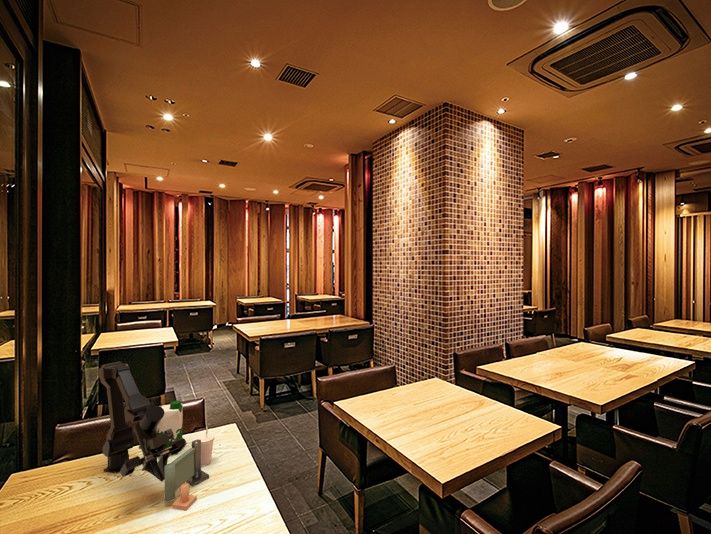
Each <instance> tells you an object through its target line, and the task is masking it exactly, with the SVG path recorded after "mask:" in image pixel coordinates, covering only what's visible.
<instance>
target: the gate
mask: <svg viewBox="0 0 711 534" xmlns="http://www.w3.org/2000/svg"><path fill="white" fill-rule="evenodd" d="M194 453H195V448H192V447H190V448H188V449H187V450H185V451H184V452H183V453H182V454H180V455H179V456H177V458H174V460H172V461H171V462H169V463H167V465H165V467H164V470H165V480H164V501H165V502H171V501H173V500H175V499H176V492H177V490H180V489H181V487H180V486H181V485H182V484H184V483H187V482H186V481H188V480H189V479H190V478H191V477H192V476H193V475H194Z"/></svg>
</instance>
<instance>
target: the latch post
mask: <svg viewBox="0 0 711 534" xmlns="http://www.w3.org/2000/svg"><path fill="white" fill-rule="evenodd" d="M197 500H198V497H197V495H191V494H190V485H189V483H187V482H185V483H184V484H182V485H181V486H180V496H179V498H178V499H177V500H176V501H175V502H173V503H172V504H171V509H174V510H181V511H187V510H189V509H190V507H191V506H193V504H194V503H195V502H197Z"/></svg>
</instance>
